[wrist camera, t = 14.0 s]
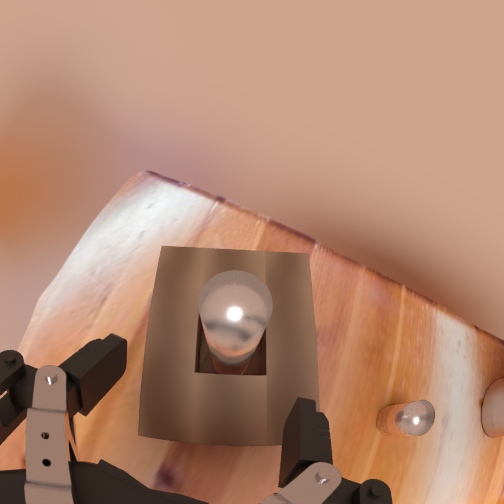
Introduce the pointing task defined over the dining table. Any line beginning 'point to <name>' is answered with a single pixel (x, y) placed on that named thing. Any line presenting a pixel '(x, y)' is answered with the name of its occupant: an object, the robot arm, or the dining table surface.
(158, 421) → the block
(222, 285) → the long pin
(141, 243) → the dining table surface
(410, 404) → the short pin
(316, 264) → the dining table surface
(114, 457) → the dining table surface
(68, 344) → the dining table surface
